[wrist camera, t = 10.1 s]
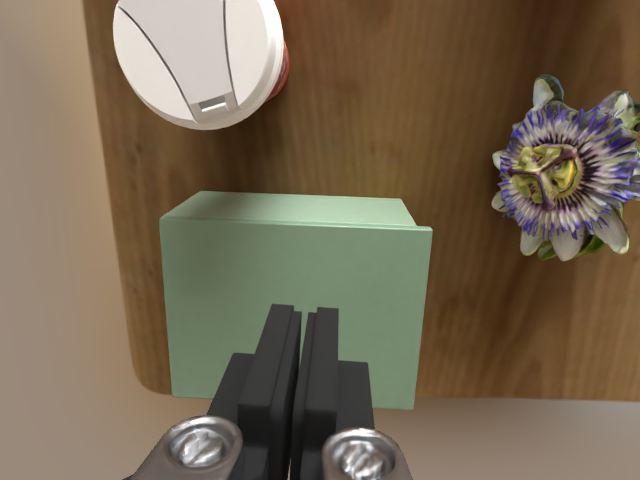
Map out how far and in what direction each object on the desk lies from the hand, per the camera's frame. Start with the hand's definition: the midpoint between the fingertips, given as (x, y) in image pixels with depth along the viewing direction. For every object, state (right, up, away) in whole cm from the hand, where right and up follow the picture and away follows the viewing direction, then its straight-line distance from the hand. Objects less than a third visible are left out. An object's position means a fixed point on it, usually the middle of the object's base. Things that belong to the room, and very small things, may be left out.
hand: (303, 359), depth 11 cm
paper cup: (-5, +16, +22) cm, 27 cm away
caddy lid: (-1, -2, +19) cm, 19 cm away
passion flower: (+18, +8, +23) cm, 30 cm away
